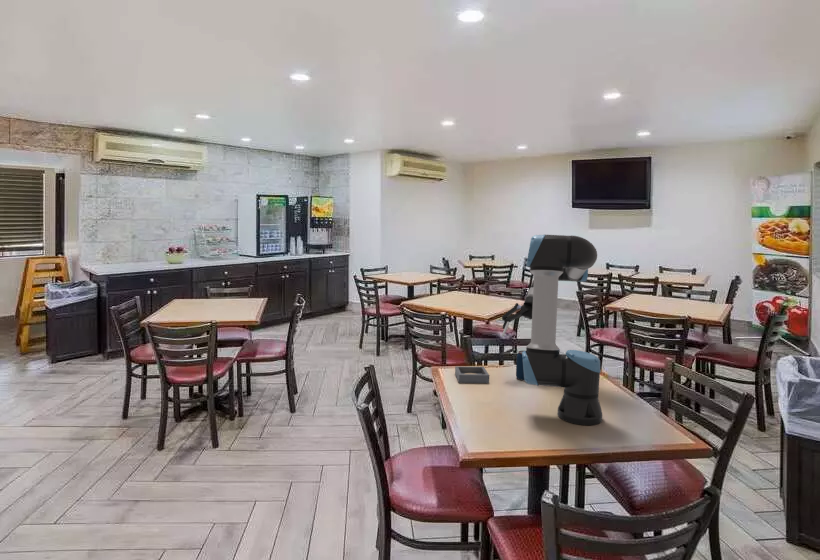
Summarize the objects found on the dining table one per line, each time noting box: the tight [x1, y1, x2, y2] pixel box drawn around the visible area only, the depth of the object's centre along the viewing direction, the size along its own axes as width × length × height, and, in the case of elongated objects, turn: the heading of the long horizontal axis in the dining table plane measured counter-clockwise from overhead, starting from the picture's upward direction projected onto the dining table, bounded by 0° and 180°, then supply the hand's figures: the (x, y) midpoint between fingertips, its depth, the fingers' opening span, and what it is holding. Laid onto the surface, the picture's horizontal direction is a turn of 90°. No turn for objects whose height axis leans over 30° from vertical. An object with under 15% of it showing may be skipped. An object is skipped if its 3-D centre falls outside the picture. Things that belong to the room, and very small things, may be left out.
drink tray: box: [454, 365, 490, 384], centre depth 220 cm, size 13×13×4 cm
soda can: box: [515, 350, 525, 381], centre depth 222 cm, size 7×7×12 cm
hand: (517, 341), depth 217 cm, fingers open, 13 cm apart
